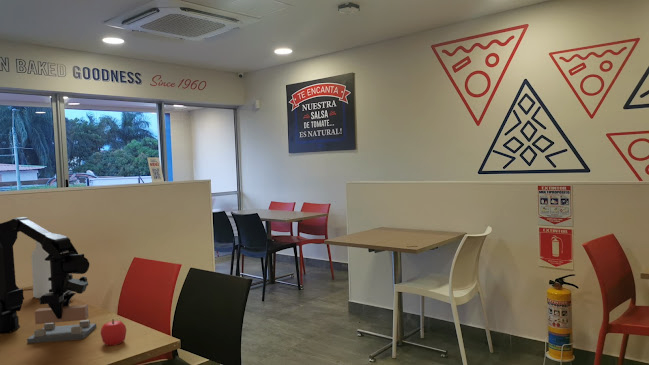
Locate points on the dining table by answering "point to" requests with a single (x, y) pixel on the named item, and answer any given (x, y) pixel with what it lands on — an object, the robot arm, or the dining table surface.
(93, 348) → the dining table surface
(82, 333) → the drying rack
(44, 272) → the bottle
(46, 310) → the clay strip
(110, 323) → the apple
